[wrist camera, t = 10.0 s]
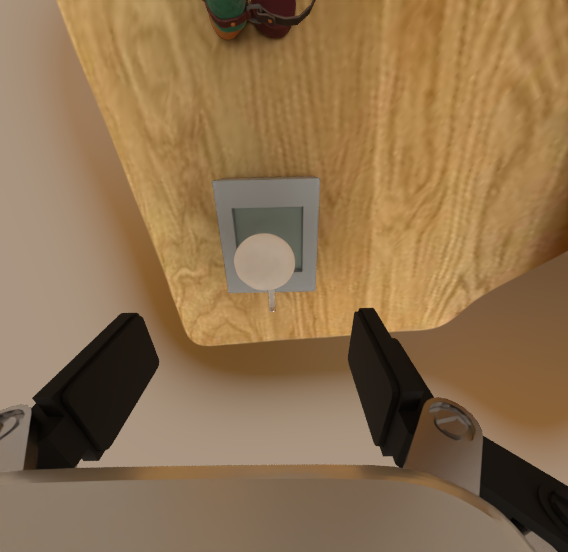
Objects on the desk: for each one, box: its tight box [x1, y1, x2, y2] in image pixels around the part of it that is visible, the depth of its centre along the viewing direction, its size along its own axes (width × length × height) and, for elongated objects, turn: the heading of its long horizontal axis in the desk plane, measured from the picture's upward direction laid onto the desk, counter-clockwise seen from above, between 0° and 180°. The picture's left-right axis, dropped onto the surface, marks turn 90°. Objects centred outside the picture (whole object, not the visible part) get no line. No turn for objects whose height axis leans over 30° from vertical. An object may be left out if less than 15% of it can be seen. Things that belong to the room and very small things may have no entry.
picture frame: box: [212, 176, 320, 293], centre depth 26 cm, size 12×10×4 cm
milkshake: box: [234, 219, 295, 312], centre depth 20 cm, size 4×5×10 cm
